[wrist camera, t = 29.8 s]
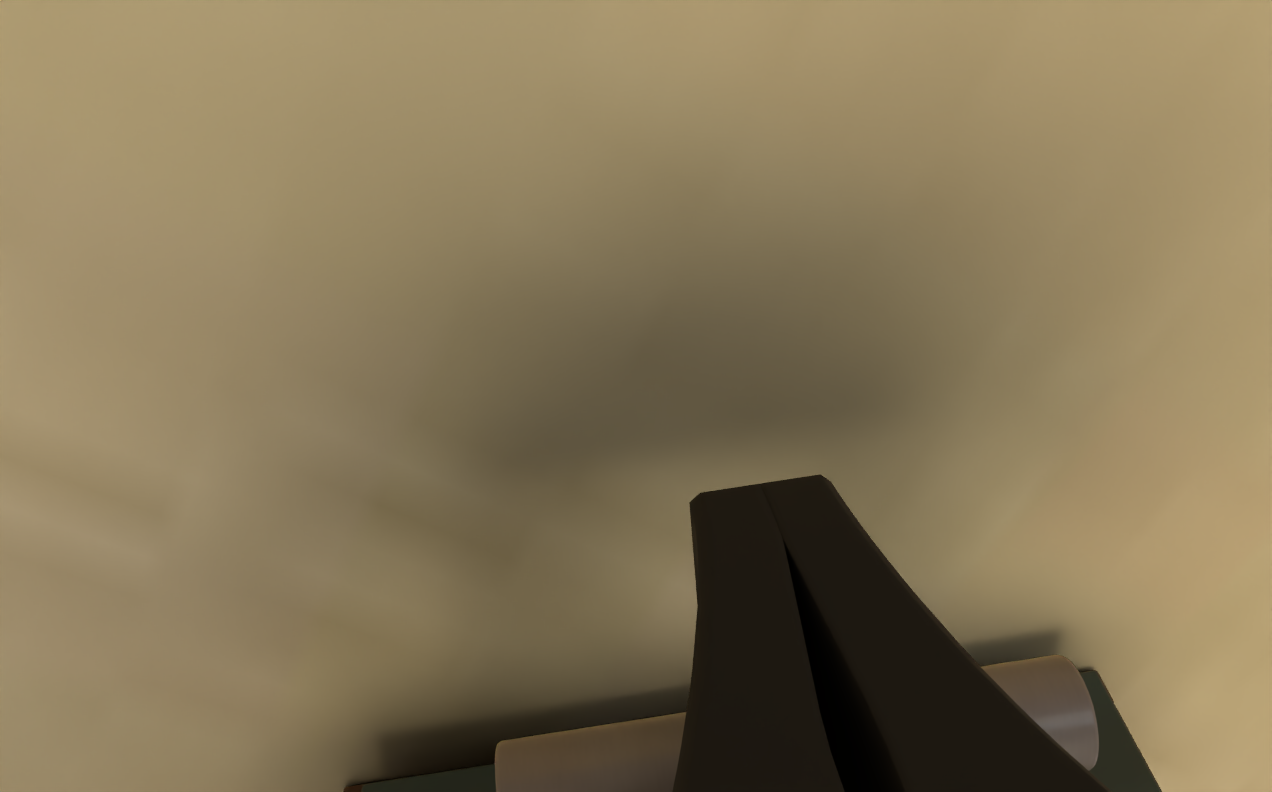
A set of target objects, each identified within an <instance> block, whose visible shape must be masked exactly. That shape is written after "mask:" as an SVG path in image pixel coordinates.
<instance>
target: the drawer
mask: <svg viewBox="0 0 1272 792" xmlns="http://www.w3.org/2000/svg"><path fill="white" fill-rule="evenodd" d="M981 668H982V669H983V670H984V671H985V672H986V673H987V674H988V675H989V676H990V677H991V678H992V679H993V680H994V681H995V682H996V683H997V684H998V685H999V686H1000V687H1001V688H1002V689H1003V690H1004V691H1005V692H1006V693H1007V694H1008V695H1009V696H1010V697H1011V698H1012V699H1013V700H1014V701H1015V702H1016V703H1017V704H1018V705H1019V706H1020V707H1021V708H1022V709H1023V710H1024V711H1025V712H1026V713H1027V714H1028V715H1029V716H1030V717H1031V718H1032V719H1033V720H1034V721H1035V722H1036V723H1037V724H1038V725H1039V726H1040V727H1041V728H1042V729H1043V730H1044V731H1045V732H1046V733H1048V734H1049V735H1050V736H1051V737H1052V738H1053V739H1054V740H1055V741H1056V742H1057V743H1058V744H1059V745H1060V746H1061V747H1063V748H1064V749H1065V750H1066V751H1067V752H1068V753H1069V754H1070V755H1071V756H1073V757H1074V758H1075V759H1076V760H1077V761H1078V762H1079V763H1080V764H1082V765H1083V766H1084V767H1085V768H1086V769H1087V770H1088V771H1089V772H1091V773H1092V774H1093V775H1094V776H1095V777H1096V778H1097V779H1098V780H1099V781H1101V782H1102V783H1103V784H1104V785H1105V786H1106V787H1108V788H1109V789H1110V790H1111V791H1112V792H1162V791H1161V790H1160V788H1159V786H1158V784H1157V782H1156V780H1155V779H1154V777H1153V775H1152V773H1151V771H1150V769H1149V767H1148V766H1147V764H1146V762H1145V760H1144V758H1143V756H1142V755H1141V753H1140V751H1139V749H1138V747H1137V745H1136V744H1135V742H1134V740H1133V738H1132V736H1131V734H1130V732H1129V731H1128V729H1127V727H1126V725H1125V723H1124V721H1123V720H1122V718H1121V716H1120V714H1119V712H1118V710H1117V709H1116V707H1115V705H1114V703H1113V701H1112V699H1111V697H1110V696H1109V694H1108V692H1107V690H1106V688H1105V686H1104V685H1103V683H1102V681H1101V679H1100V677H1099V675H1098V674H1097V672H1096V671H1087V672H1081V673H1079V671H1078V670H1077V668H1076V667H1075V666H1074V665H1073V663H1072V662H1071V661H1070V660H1069V659H1067V658H1066V657H1063V656H1060V655H1052V656H1045V657H1039V658H1032V659H1026V660H1019V661H1013V662H1006V663H1000V664H993V665H987V666H981ZM685 717H686V712H684V713H677V714H671V715H664V716H658V717H652V718H645V719H639V720H632V721H626V722H619V723H613V724H606V725H600V726H593V727H587V728H581V729H574V730H568V731H561V732H555V733H548V734H542V735H535V736H529V737H522V738H516V739H510V740H503V741H501V742H499V743H498V744H497V747H496V751H495V764H491V765H485V766H478V767H472V768H465V769H459V770H452V771H446V772H440V773H433V774H427V775H420V776H414V777H408V778H401V779H395V780H388V781H382V782H376V783H369V784H364V785H363V786H362V792H672V791H673V786H674V781H675V776H676V771H677V766H678V761H679V755H680V749H681V743H682V737H683V730H684V724H685Z"/></svg>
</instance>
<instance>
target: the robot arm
mask: <svg viewBox="0 0 1272 792" xmlns="http://www.w3.org/2000/svg"><path fill="white" fill-rule="evenodd" d="M690 514H691V527H692V540H693V552H694V565H695V578H696V590H697V603H698V609H697V621H696V633H695V645H694V657H693V669H692V677H691V685H690V692H689V698H688V705H687V711H686V717H685V724H684V730H683V737H682V743H681V749H680V755H679V761H678V766H677V771H676V776H675V781H674V786H673V791H672V792H1112V791H1111V790H1110V789H1109V788H1108V787H1106V786H1105V785H1104V784H1103V783H1102V782H1101V781H1099V780H1098V779H1097V778H1096V777H1095V776H1094V775H1093V774H1092V773H1091V772H1089V771H1088V770H1087V769H1086V768H1085V767H1084V766H1083V765H1082V764H1080V763H1079V762H1078V761H1077V760H1076V759H1075V758H1074V757H1073V756H1071V755H1070V754H1069V753H1068V752H1067V751H1066V750H1065V749H1064V748H1063V747H1061V746H1060V745H1059V744H1058V743H1057V742H1056V741H1055V740H1054V739H1053V738H1052V737H1051V736H1050V735H1049V734H1048V733H1046V732H1045V731H1044V730H1043V729H1042V728H1041V727H1040V726H1039V725H1038V724H1037V723H1036V722H1035V721H1034V720H1033V719H1032V718H1031V717H1030V716H1029V715H1028V714H1027V713H1026V712H1025V711H1024V710H1023V709H1022V708H1021V707H1020V706H1019V705H1018V704H1017V703H1016V702H1015V701H1014V700H1013V699H1012V698H1011V697H1010V696H1009V695H1008V694H1007V693H1006V692H1005V691H1004V690H1003V689H1002V688H1001V687H1000V686H999V685H998V684H997V683H996V682H995V681H994V680H993V679H992V678H991V677H990V676H989V675H988V674H987V673H986V672H985V671H984V670H983V669H982V668H981V667H980V666H979V664H978V663H977V662H976V661H975V660H974V659H973V658H972V657H971V656H970V655H969V654H968V653H967V652H966V651H965V649H964V648H963V647H962V646H961V645H960V644H959V643H958V642H957V641H956V640H955V638H954V637H953V636H952V635H951V634H950V633H949V632H948V631H947V629H946V628H945V627H944V626H943V625H942V624H941V623H940V621H939V620H938V619H937V618H936V617H935V616H934V615H933V613H932V612H931V611H930V610H929V609H928V608H927V607H926V605H925V604H924V603H923V602H922V601H921V600H920V599H919V598H918V596H917V595H916V594H915V593H914V592H913V590H912V589H911V588H910V587H909V586H908V584H907V583H906V582H905V581H904V580H903V578H902V577H901V576H900V575H899V573H898V572H897V571H896V570H895V568H894V567H893V566H892V565H891V563H890V562H889V561H888V560H887V558H886V557H885V556H884V555H883V553H882V552H881V551H880V549H879V548H878V547H877V546H876V544H875V543H874V542H873V540H872V539H871V538H870V536H869V535H868V534H867V533H866V531H865V530H864V529H863V527H862V526H861V524H860V523H859V522H858V520H857V519H856V518H855V516H854V515H853V513H852V512H851V511H850V509H849V508H848V506H847V505H846V504H845V502H844V501H843V499H842V498H841V496H840V495H839V493H838V492H837V490H836V489H835V487H834V486H833V484H832V483H831V481H829V480H828V479H826V478H825V477H823V476H822V475H814V476H807V477H801V478H794V479H788V480H781V481H775V482H768V483H762V484H755V485H749V486H742V487H735V488H729V489H722V490H716V491H709V492H703V493H700V494H699V495H697V496H696V497H695V498H694V499H693V500H692V501H691V502H690Z"/></svg>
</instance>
